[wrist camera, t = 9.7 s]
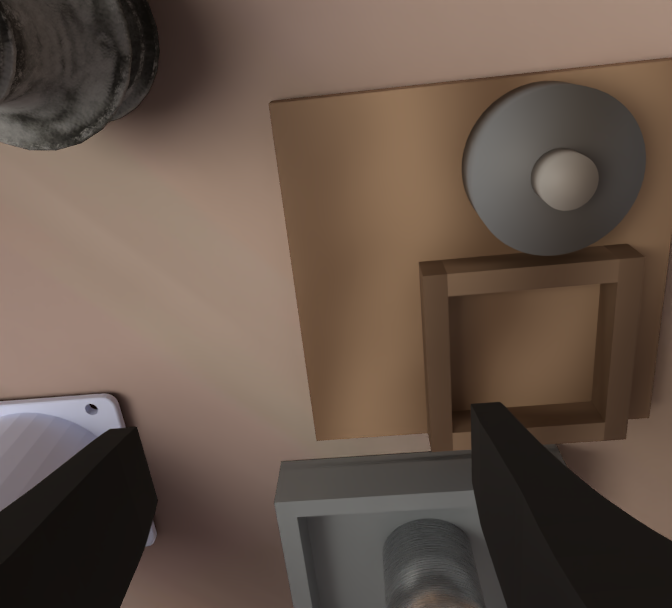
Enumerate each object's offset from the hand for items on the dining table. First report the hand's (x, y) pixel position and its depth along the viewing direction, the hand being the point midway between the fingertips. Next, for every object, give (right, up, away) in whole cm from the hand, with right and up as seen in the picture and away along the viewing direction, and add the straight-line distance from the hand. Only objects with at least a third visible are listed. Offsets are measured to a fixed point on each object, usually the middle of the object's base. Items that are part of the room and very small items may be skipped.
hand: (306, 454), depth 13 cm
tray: (+5, -8, +15) cm, 18 cm away
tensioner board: (+6, +5, +9) cm, 12 cm away
